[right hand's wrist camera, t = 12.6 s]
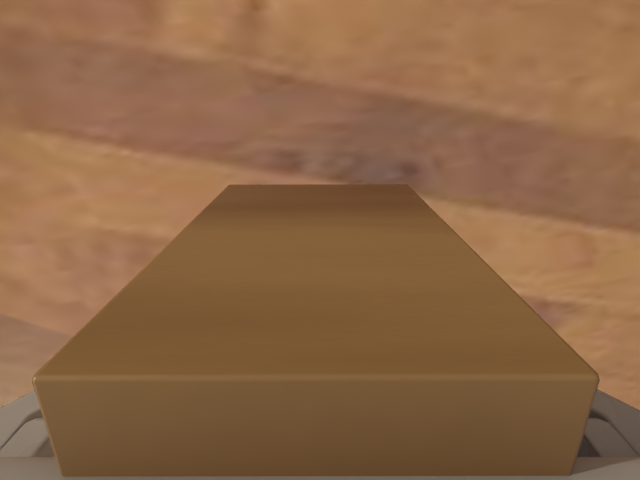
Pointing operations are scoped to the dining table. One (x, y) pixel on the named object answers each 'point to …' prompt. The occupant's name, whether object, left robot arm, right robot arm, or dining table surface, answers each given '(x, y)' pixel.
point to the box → (316, 352)
